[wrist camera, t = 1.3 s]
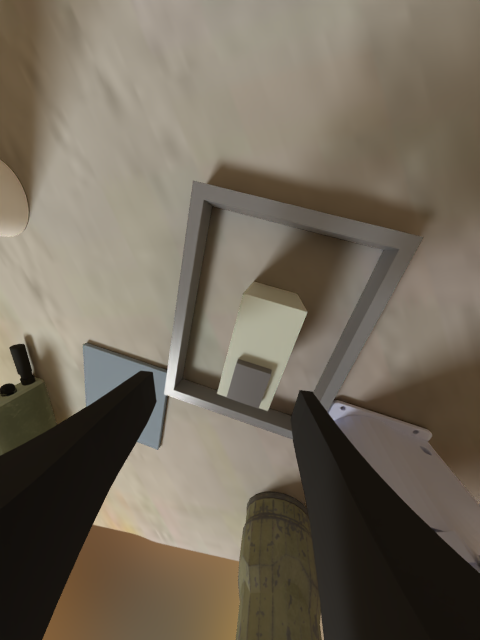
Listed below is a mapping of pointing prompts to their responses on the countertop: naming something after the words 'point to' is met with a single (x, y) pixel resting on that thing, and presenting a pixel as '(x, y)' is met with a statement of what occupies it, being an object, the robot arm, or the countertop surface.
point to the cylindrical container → (12, 203)
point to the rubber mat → (114, 369)
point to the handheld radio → (23, 405)
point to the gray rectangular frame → (392, 242)
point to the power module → (261, 344)
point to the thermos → (277, 572)
